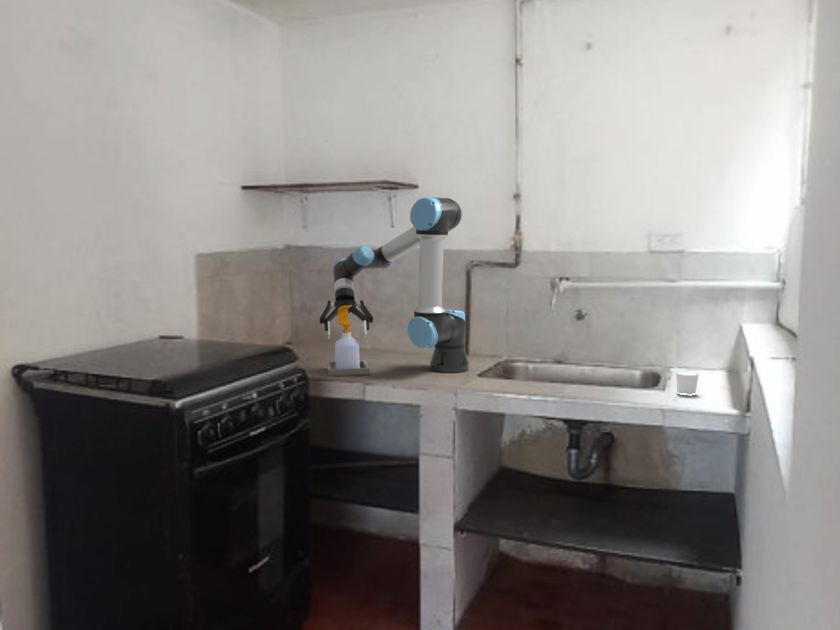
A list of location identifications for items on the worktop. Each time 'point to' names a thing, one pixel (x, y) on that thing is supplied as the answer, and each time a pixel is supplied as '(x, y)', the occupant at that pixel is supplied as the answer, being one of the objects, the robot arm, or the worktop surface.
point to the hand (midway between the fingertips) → (347, 336)
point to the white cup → (686, 382)
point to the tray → (348, 370)
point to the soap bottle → (346, 343)
